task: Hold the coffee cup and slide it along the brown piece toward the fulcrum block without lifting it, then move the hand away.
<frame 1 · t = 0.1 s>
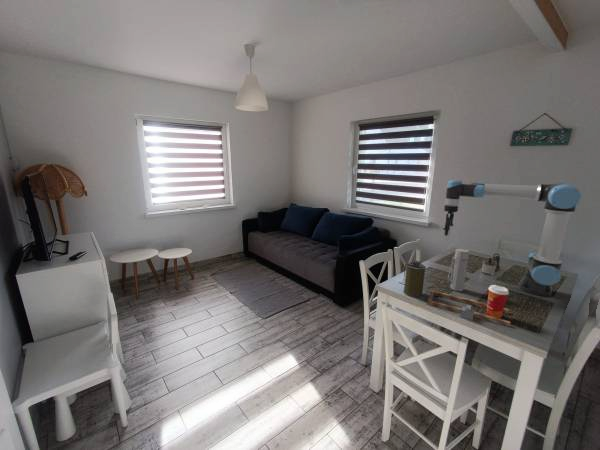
hand: (447, 237, 171), 28 cm above the table, fingers open, 13 cm apart
water bottle: (454, 289, 162), on the table
canister: (412, 293, 156), on the table
coffee cup: (493, 315, 134), on the table
fulcrum block: (466, 316, 132), on the table
brown piece: (468, 308, 140), on the table
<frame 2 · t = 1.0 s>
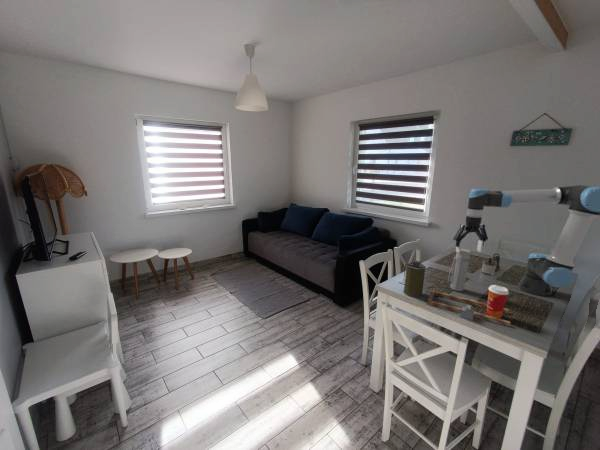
hand: (468, 251, 156), 24 cm above the table, fingers open, 13 cm apart
nothing on the table moved.
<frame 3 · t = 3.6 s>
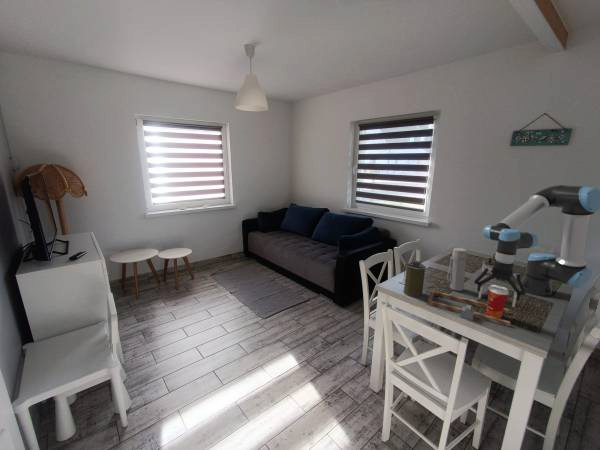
hand: (495, 301, 132), 8 cm above the table, fingers open, 13 cm apart
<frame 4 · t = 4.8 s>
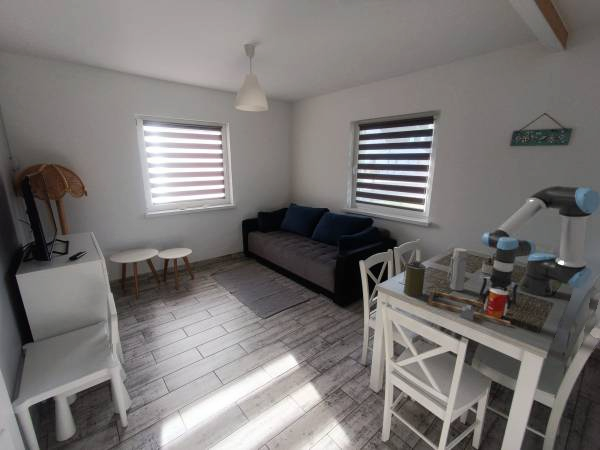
hand: (494, 311, 133), 2 cm above the table, fingers closed on coffee cup, 7 cm apart
coffee cup: (493, 315, 134), on the table, touching gripper
everything else where it was.
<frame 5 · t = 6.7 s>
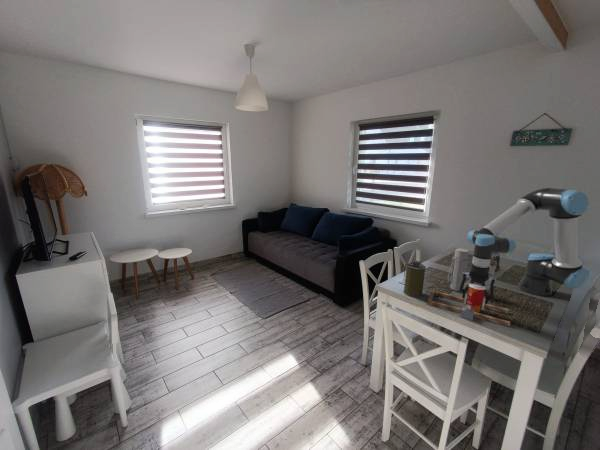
hand: (473, 306, 138), 2 cm above the table, fingers closed on coffee cup, 7 cm apart
coffee cup: (472, 310, 138), on the table, touching gripper
everything else where it was.
when the fingers open (2 cm above the table, at t = 7.6 s): coffee cup stays where it is, on the table.
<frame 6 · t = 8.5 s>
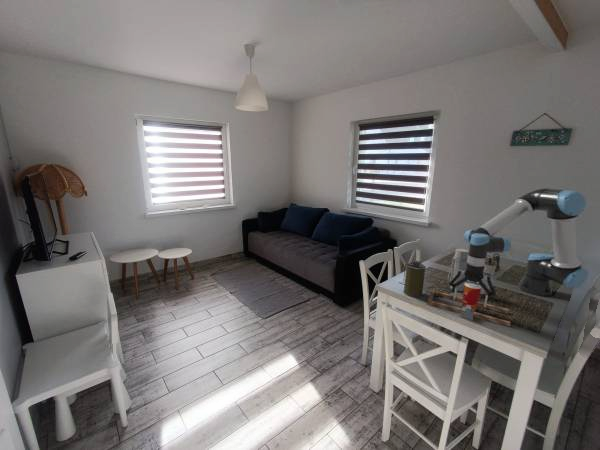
hand: (469, 302, 139), 4 cm above the table, fingers open, 13 cm apart
coffee cup: (468, 309, 139), on the table
everything else where it was.
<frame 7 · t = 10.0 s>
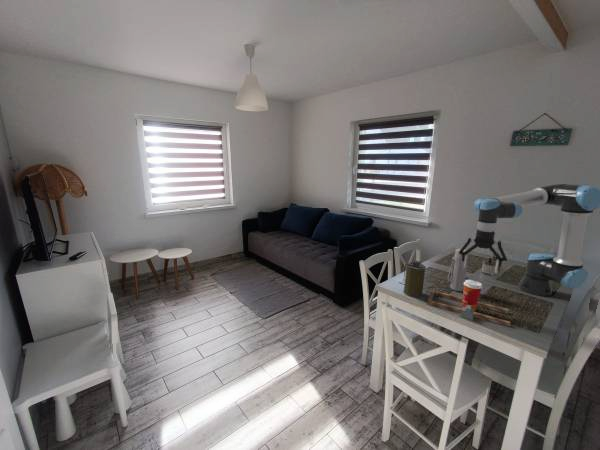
hand: (479, 269, 137), 21 cm above the table, fingers open, 13 cm apart
nothing on the table moved.
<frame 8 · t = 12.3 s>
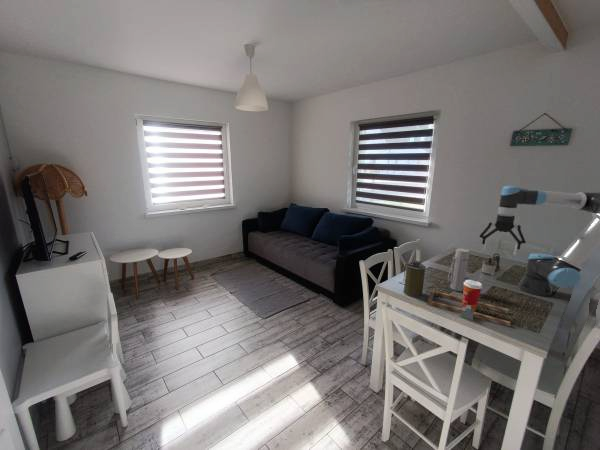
hand: (499, 252, 147), 27 cm above the table, fingers open, 13 cm apart
nothing on the table moved.
at the end: coffee cup inside the target area on the brown piece (0.3 cm from its centre), point 0.0 cm above the brown piece's base; coffee cup tilted 0°; the gripper is holding nothing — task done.
